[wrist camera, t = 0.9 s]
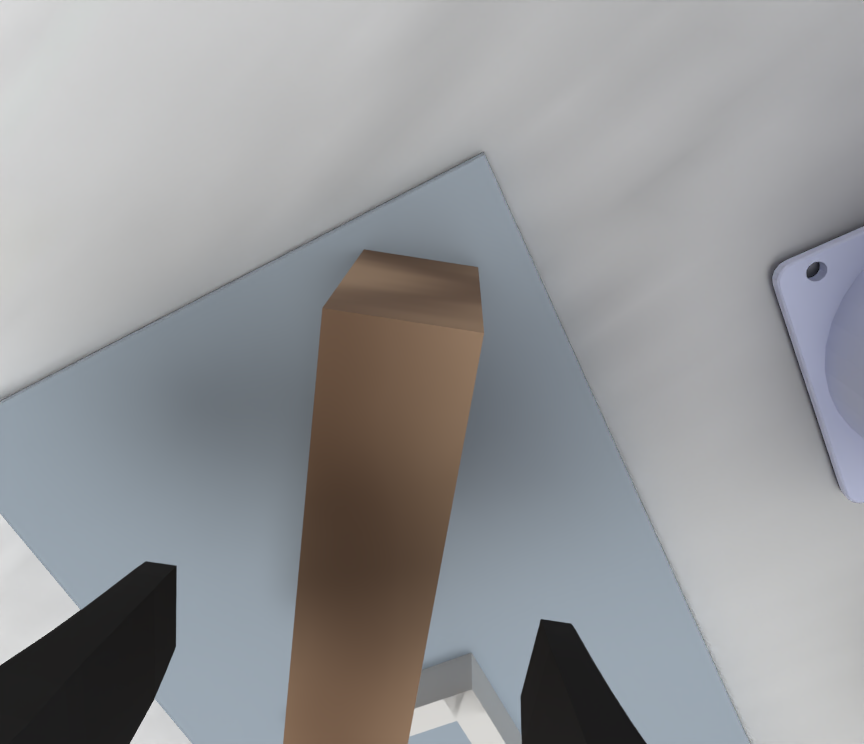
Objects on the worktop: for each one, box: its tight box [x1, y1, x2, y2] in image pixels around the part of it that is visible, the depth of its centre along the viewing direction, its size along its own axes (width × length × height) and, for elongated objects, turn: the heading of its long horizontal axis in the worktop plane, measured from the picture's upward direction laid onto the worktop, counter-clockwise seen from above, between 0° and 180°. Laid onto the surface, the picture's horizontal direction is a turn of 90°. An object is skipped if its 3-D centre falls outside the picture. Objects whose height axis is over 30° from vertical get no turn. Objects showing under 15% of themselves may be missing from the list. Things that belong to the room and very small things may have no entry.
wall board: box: [0, 152, 750, 744], centre depth 23 cm, size 18×30×2 cm, turn 27°
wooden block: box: [283, 249, 484, 744], centre depth 17 cm, size 3×12×6 cm, turn 171°
